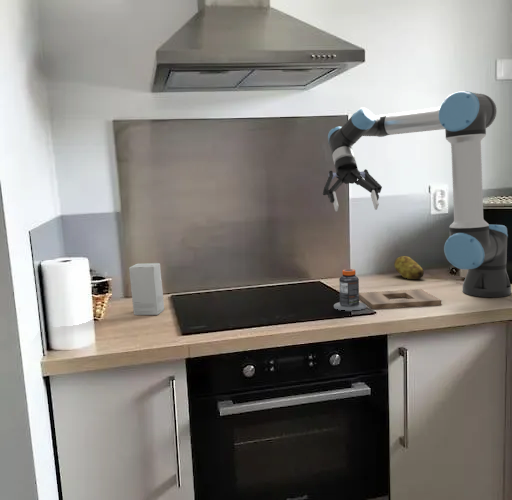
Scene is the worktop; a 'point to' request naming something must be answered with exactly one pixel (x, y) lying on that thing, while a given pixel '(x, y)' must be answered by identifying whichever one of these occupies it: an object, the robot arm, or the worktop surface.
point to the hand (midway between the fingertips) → (357, 207)
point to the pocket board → (413, 299)
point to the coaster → (339, 307)
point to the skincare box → (146, 289)
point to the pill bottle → (349, 288)
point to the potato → (408, 268)
